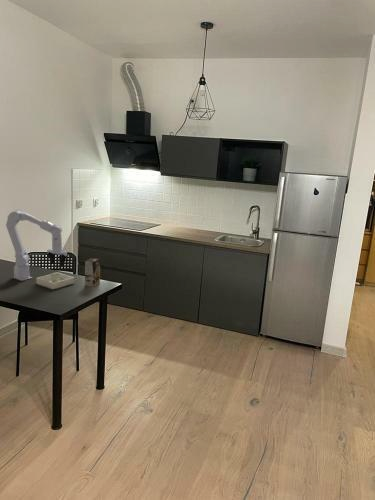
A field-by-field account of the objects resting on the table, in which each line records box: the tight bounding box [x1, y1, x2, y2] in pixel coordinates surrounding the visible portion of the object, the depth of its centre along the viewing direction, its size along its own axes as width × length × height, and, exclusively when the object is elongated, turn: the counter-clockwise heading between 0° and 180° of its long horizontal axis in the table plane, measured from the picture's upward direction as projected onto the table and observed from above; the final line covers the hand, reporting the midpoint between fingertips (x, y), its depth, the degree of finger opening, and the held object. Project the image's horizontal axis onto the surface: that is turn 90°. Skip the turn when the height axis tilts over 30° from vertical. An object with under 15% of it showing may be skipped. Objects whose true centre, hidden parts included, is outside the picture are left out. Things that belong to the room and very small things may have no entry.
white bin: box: [36, 272, 75, 291], centre depth 230 cm, size 16×16×4 cm
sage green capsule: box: [50, 272, 60, 283], centre depth 229 cm, size 5×5×6 cm
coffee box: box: [84, 257, 101, 288], centre depth 232 cm, size 9×6×16 cm
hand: (57, 264), depth 237 cm, fingers open, 7 cm apart
